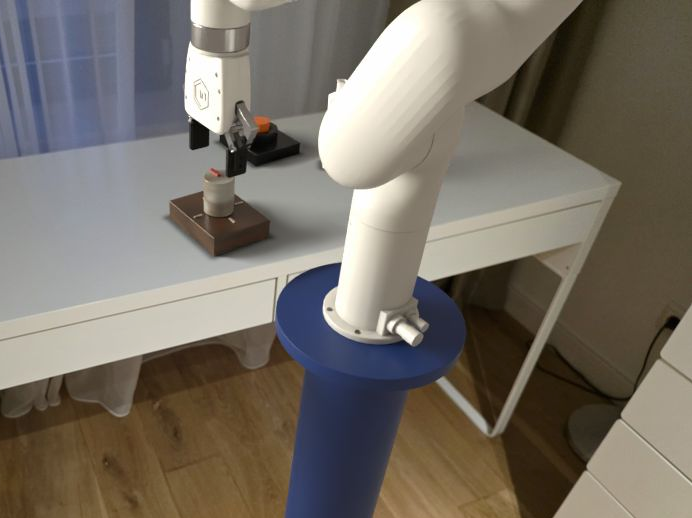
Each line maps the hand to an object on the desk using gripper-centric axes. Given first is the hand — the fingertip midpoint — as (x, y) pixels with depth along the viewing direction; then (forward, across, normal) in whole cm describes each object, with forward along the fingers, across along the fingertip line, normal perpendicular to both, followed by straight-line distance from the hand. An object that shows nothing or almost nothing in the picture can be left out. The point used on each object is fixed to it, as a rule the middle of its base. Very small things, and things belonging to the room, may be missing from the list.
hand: (216, 160), depth 95 cm
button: (+8, -19, +22) cm, 30 cm away
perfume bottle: (+11, -6, +29) cm, 32 cm away
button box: (+11, -19, +22) cm, 31 cm away
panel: (+11, +1, 0) cm, 11 cm away
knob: (+8, +1, 0) cm, 8 cm away
